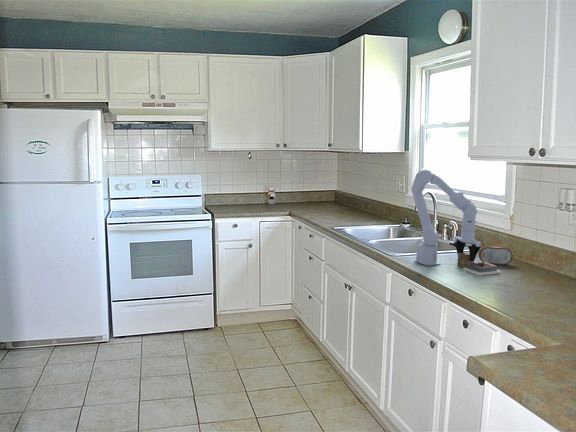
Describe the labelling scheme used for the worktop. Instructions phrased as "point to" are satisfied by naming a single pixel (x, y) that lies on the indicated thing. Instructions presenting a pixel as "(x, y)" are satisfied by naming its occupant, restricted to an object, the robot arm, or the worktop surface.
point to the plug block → (464, 259)
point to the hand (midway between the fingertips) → (466, 259)
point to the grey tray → (481, 268)
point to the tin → (495, 255)
